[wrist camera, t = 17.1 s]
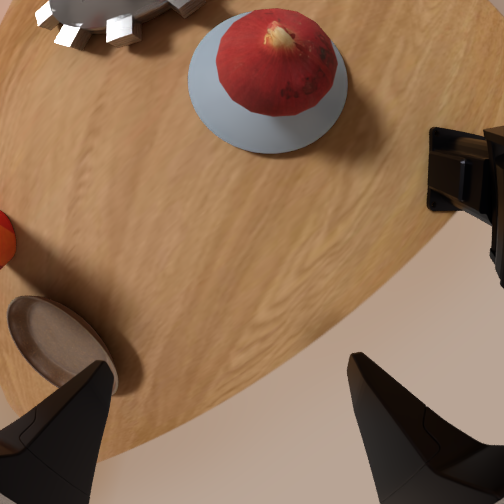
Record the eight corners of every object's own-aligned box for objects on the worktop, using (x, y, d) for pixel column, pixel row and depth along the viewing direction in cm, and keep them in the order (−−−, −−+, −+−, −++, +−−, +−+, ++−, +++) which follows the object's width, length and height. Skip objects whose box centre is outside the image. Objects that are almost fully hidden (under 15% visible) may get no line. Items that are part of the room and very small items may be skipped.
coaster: (335, 17, 13) (338, 13, 13) (347, 151, 17) (351, 152, 17) (186, 23, 14) (184, 19, 13) (197, 159, 18) (195, 160, 17)
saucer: (130, 398, 29) (124, 415, 26) (35, 362, 27) (26, 375, 25) (120, 304, 23) (109, 322, 20) (8, 267, 21) (-7, 279, 19)
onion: (326, 49, 14) (374, 2, 7) (308, 129, 16) (349, 129, 9) (235, 28, 13) (222, -34, 6) (215, 109, 16) (184, 93, 8)
